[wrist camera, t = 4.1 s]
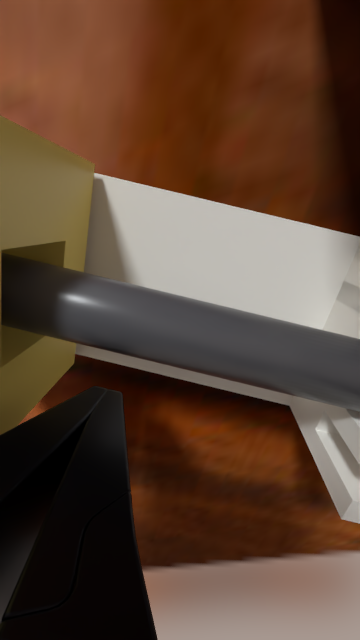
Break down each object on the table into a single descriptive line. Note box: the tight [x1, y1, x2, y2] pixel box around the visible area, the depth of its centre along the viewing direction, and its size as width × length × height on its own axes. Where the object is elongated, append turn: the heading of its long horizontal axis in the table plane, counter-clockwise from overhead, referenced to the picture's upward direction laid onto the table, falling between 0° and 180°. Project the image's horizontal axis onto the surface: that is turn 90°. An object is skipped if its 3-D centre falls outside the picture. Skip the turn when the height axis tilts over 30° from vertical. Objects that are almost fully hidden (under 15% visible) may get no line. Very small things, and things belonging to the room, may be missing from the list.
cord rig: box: [1, 173, 360, 523], centre depth 7 cm, size 16×6×5 cm, turn 77°
